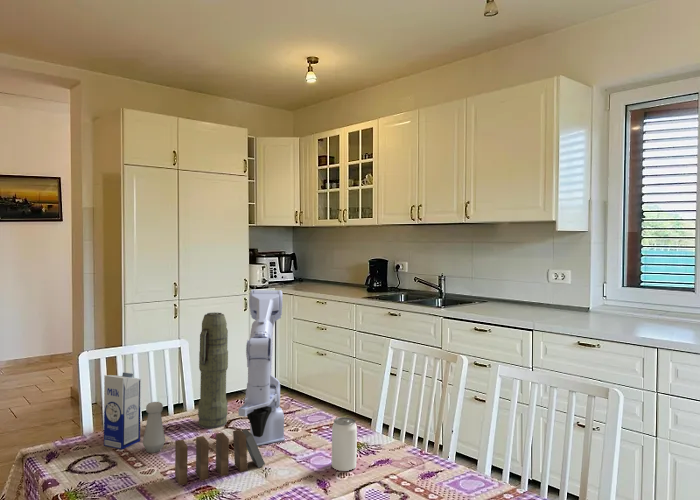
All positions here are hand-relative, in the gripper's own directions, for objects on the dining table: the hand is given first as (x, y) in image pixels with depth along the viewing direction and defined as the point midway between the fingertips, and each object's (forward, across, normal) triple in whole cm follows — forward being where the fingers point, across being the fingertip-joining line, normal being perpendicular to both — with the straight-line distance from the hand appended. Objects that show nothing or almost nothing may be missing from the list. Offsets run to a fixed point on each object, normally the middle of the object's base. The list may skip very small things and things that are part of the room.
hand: (258, 435), depth 134 cm
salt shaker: (+8, +5, -31) cm, 32 cm away
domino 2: (+8, +12, -8) cm, 16 cm away
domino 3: (+7, +8, -5) cm, 12 cm away
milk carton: (+8, +6, -42) cm, 43 cm away
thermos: (+8, -18, -30) cm, 36 cm away
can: (+8, -9, +21) cm, 24 cm away
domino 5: (+7, 0, 0) cm, 7 cm away
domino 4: (+7, +4, -3) cm, 9 cm away
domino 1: (+8, +16, -11) cm, 21 cm away
